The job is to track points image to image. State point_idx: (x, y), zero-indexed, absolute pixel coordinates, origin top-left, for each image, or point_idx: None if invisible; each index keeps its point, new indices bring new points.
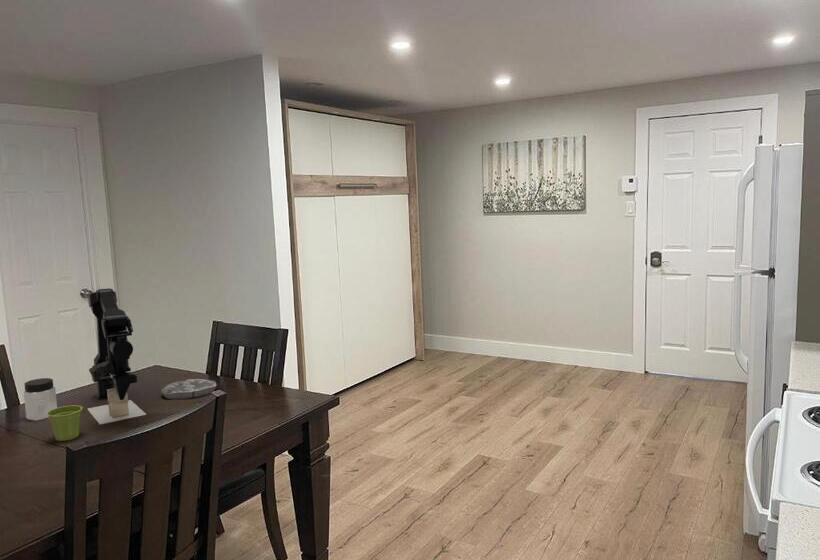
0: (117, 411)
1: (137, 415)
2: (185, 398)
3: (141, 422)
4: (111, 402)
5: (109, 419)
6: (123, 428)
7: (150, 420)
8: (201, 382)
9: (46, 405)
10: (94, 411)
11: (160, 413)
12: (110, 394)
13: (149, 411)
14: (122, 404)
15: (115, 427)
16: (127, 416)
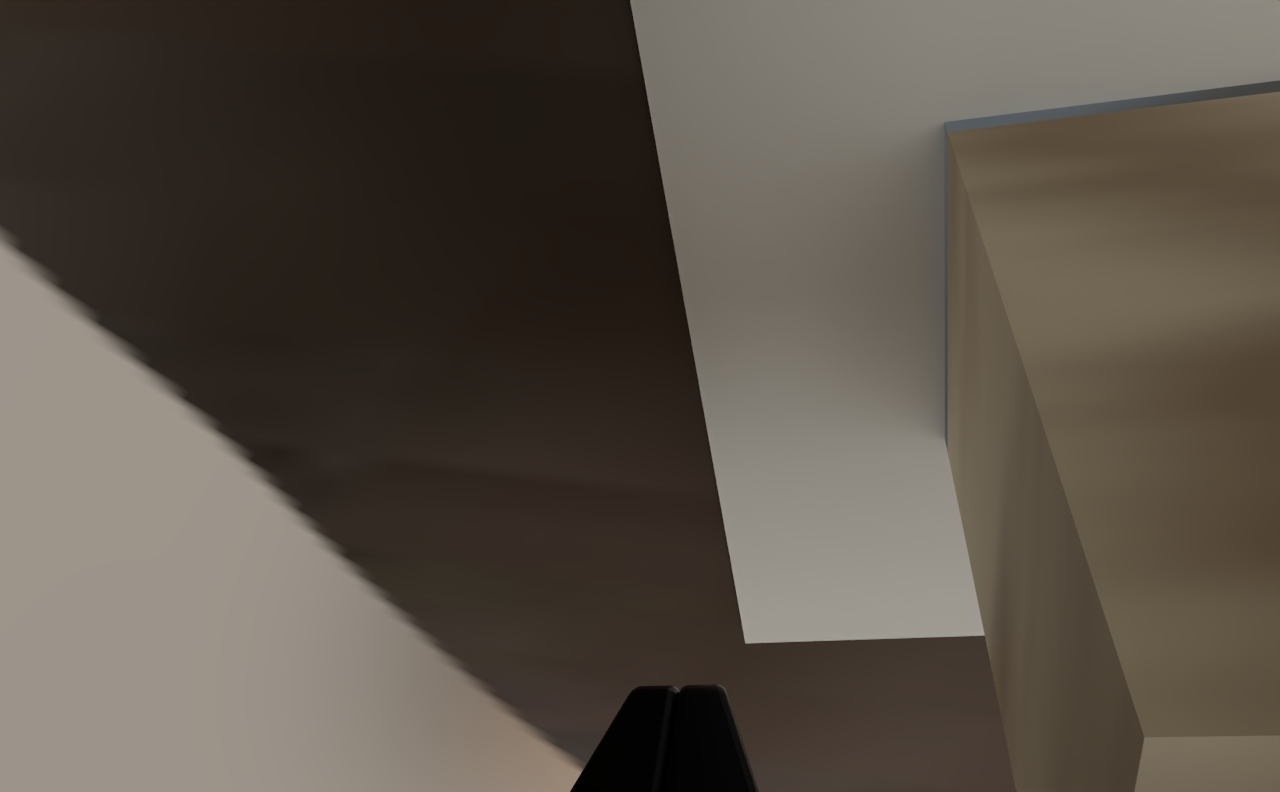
0: (965, 320)
1: (780, 541)
2: None
3: (402, 523)
4: (1025, 393)
5: (895, 38)
6: (160, 248)
7: (446, 625)
8: None
9: None
10: None
11: None
12: (1185, 652)
13: (955, 686)
14: (992, 548)
15: (280, 113)
16: (842, 403)
